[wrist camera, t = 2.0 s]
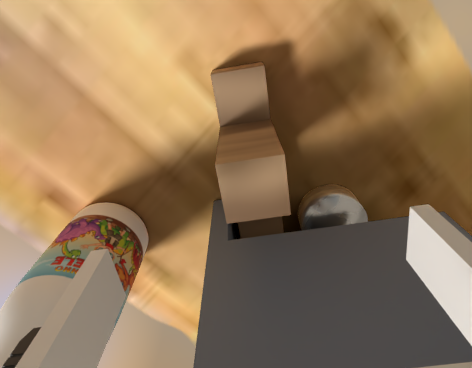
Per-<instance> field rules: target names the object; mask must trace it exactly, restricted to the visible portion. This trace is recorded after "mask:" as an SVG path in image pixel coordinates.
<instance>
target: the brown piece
mask: <svg viewBox="0 0 472 368" xmlns="http://www.w3.org/2000/svg"><path fill="white" fill-rule="evenodd" d="M211 79H212V85H213V90H214V96H215V101H216V106H217V112H218V117H219V123H220V132H219V139H218V146H217V154H216V161H215V168H216V173H217V178H218V183H219V188H220V193H221V198H222V203H223V208H224V212H225V217H226V222H227V224H229V223H236V222H238V226H239V231H240V237H241V239H243V238H251V237H258V236H266V235H273V234H280V233H284V231H283V222H282V216H287V215H291V211H290V201H289V191H288V181H287V171H286V161H285V154H284V151H283V149H282V146H281V144H280V141H279V139H278V136H277V134H276V131H275V129H274V126H273V124H272V121H271V119H270V110H269V101H268V93H267V84H266V75H265V67H264V64H263V63H262V62H257V63H251V64H245V65H239V66H233V67H227V68H221V69H216V70H213V71H212V73H211Z"/></svg>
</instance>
